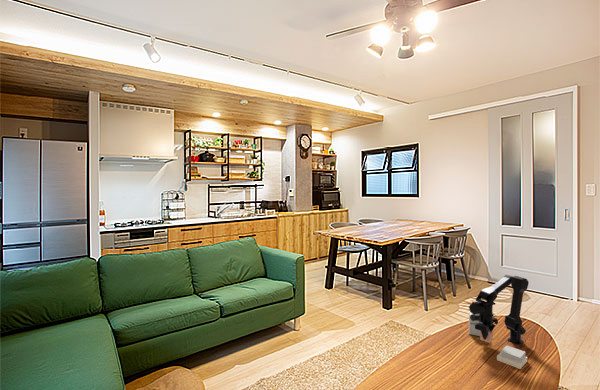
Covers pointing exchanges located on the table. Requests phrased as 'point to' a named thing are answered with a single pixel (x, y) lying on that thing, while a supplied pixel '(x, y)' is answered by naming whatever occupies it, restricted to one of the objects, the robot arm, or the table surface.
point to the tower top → (513, 354)
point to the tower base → (510, 362)
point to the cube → (489, 337)
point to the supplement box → (473, 326)
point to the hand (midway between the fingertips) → (486, 337)
